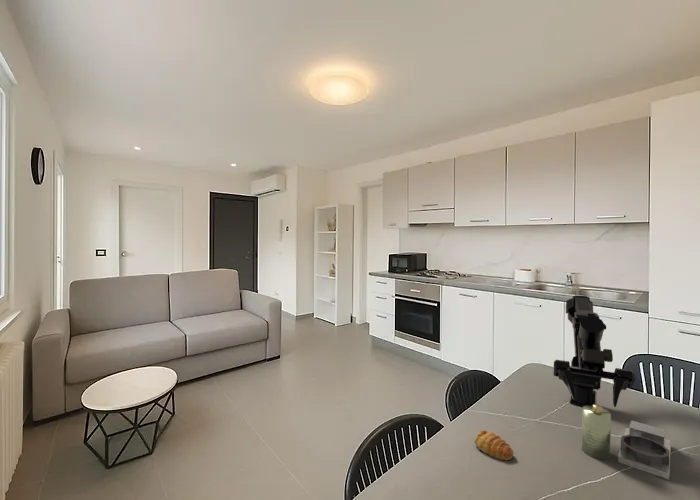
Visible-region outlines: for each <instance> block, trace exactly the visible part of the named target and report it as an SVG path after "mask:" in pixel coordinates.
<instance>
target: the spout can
mask: <svg viewBox="0 0 700 500" xmlns="http://www.w3.org/2000/svg"><path fill="white" fill-rule="evenodd" d="M581 416H582V420H581V421H582V423H581V424H582V425H581V426H582V428H581V436H582V437H581V450H582V452H583V453H584V454H586V455H587V456H588V457H591V458H594V459H597V460H603V461H606V460H610V459H611V438H612V437H611V435H612V434H611V433H612V432H611V430H612V413H611V412H610V411H609V410H607V409H606V408H604V407H603V405H601V404H598V403H596V404H593V406H590V405H587V406H583V407H582V415H581Z"/></svg>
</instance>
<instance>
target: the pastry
mask: <svg viewBox="0 0 700 500" xmlns="http://www.w3.org/2000/svg"><path fill="white" fill-rule="evenodd" d="M474 444H475V446H476V447H477V449H478V450H481V451H482V452H483V453H485V454H486V455H489V456H490V457H493V458H495V459H498V460H505V461H509V460H511V459H512V458H513V455H514V450H513V449H512V447H510V444H509V443H507V442H506V441H505V439H502V438H501V437H500V436H499V435H496V434H495V433H494V432H493V431H492V432H488V431H487V430H486V429H482V430H480V431H479V432H478V433H477V434H476V437H475V439H474Z"/></svg>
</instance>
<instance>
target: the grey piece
mask: <svg viewBox="0 0 700 500" xmlns="http://www.w3.org/2000/svg"><path fill="white" fill-rule="evenodd" d="M665 432H666V430H665V429H663V428H660V427H656V426H652V425H650V424H646V423H643V422H638V421H636V420H630V425H629V428H628V427H626V428H625V430H624V434H623V435H622V436H621V437H620V449H619V452H618V456H617V462H618V463H620V464H622V465H626V466H627V467H628V466H629V467H631V468H634V469H637V470H640V471H642V472H645V473H647V474H651V475H654V476H657V477H660V478H663V479H665V480H668V481H670V472H671V470H670V469H671V446H672V445H671V443H672V441H671V440H670V439H665V436H666V435H665Z"/></svg>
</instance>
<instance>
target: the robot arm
mask: <svg viewBox="0 0 700 500" xmlns="http://www.w3.org/2000/svg"><path fill="white" fill-rule="evenodd" d="M565 314H567V320H568V321H569V322H570V323H571V324H572V328H573V343H574V355H575V356H573V357H572V360H571V361H567V360H562V359H561V360H560V359H555V360H553V371H552V372H553V375H552V376H554V377H556V378H557V377H558V380H561V381H562V382H563V383H564V384H565V386H566V388H567V389H568V391H569V395H570V400H569V404H572V405H575V406H578V407H579V406H580V407H582V408H583V406H587V405H590V406H593V404H597V401H598V400H597V397H598V395H597V393H598V392H597V391H599V390H600V389H601V383H602V379H606V380H611V381H613V382H612V383H613V384H612V404H613V407H614V408H616V407H617V405H618V400H619V397H620V394H621V392H622V390H623V391H626V390H627V389H632V388H633V386H634V383H635V380H636V377H635V372H633V370H632V369H626V368H625V369H624V368H618V367H615V369H614V371H613V372H612V371H606V370H604V369H605V368H606V366H605V365H606V362H607V363H612V362H613V359H614V358H613V357H614V356H613V351H612V349H609V348H608V349H607V348H603V350H602V348H601V341H602V338H603V335H604V331H605V330H607V324H606V323H604V321H603V319H602V318H600V316H599V314H598V313H597V312H594V302H593V301H591V300H590V296H587V295H577V294H575V295H572V298H569V299H566V301H565ZM570 362H571V363H570ZM596 390H597V391H596Z"/></svg>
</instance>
